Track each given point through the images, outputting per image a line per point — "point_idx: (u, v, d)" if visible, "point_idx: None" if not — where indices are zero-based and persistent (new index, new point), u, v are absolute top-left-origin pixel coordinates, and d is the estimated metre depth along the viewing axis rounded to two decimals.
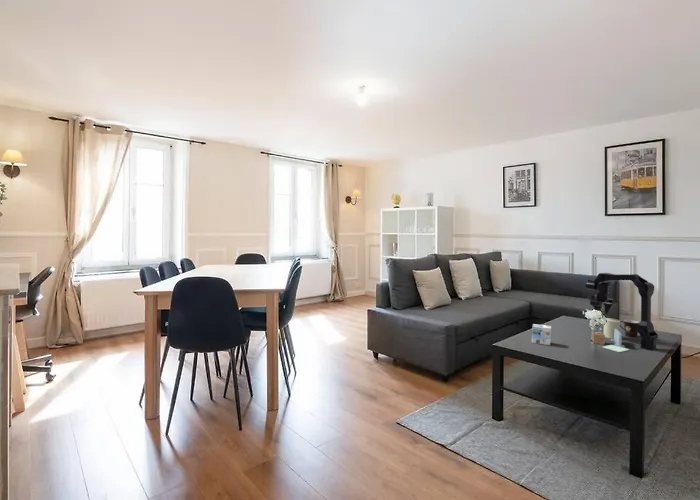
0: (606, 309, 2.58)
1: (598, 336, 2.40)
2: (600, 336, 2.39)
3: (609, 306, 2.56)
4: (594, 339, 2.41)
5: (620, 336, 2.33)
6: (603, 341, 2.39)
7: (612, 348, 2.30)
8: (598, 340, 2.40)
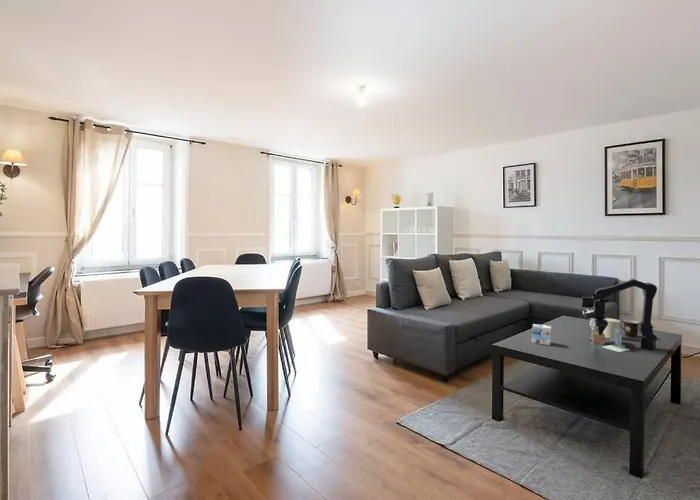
0: None
1: (598, 336, 2.40)
2: (600, 336, 2.39)
3: None
4: (594, 339, 2.41)
5: (620, 336, 2.33)
6: (603, 341, 2.39)
7: (612, 348, 2.30)
8: (598, 340, 2.40)
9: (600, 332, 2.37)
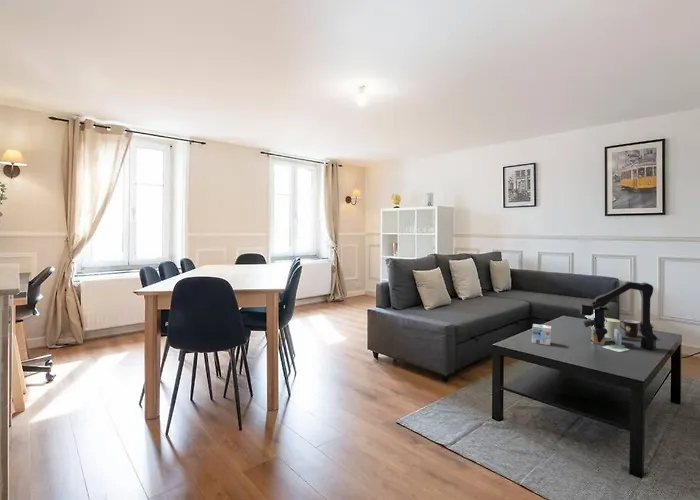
0: None
1: None
2: None
3: None
4: (594, 339, 2.41)
5: (620, 336, 2.33)
6: (603, 341, 2.39)
7: (612, 348, 2.30)
8: None
9: (599, 339, 2.39)
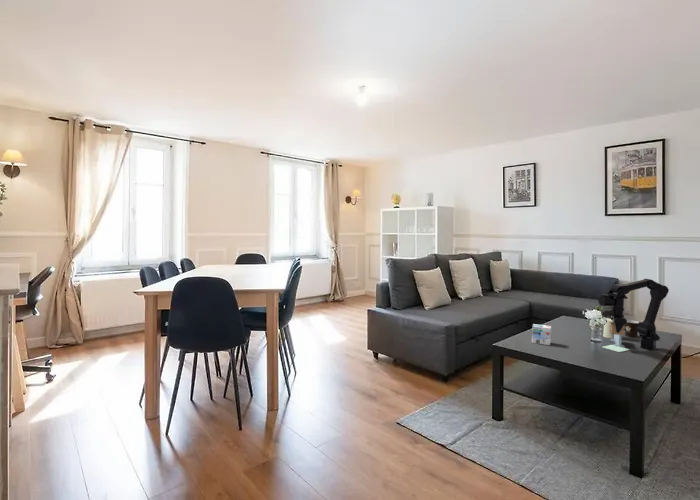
0: None
1: None
2: None
3: None
4: (613, 329, 2.28)
5: (620, 336, 2.33)
6: (622, 331, 2.27)
7: (612, 348, 2.30)
8: None
9: (618, 330, 2.27)
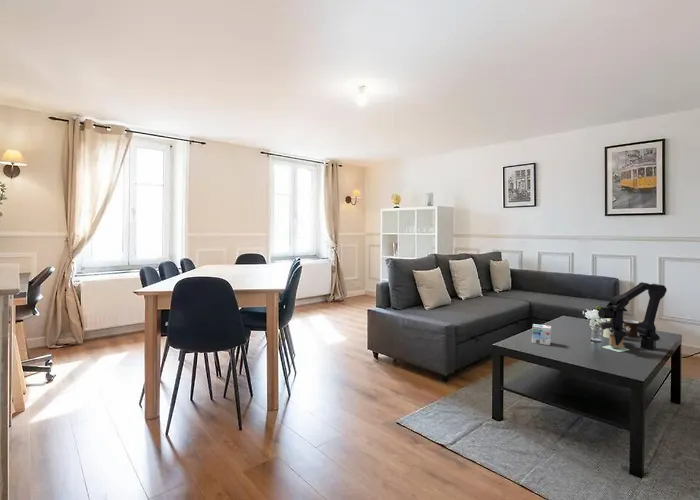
0: None
1: None
2: None
3: None
4: (612, 342, 2.29)
5: None
6: (621, 344, 2.27)
7: (612, 348, 2.30)
8: None
9: (617, 342, 2.27)
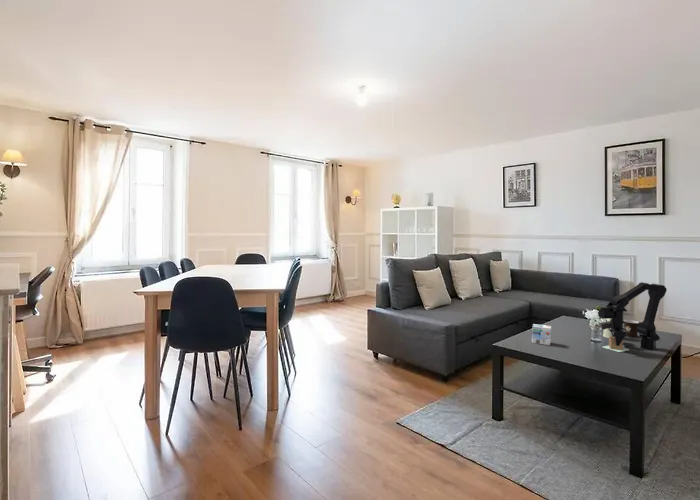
0: None
1: None
2: None
3: None
4: (612, 344, 2.29)
5: None
6: (621, 346, 2.27)
7: None
8: None
9: (617, 343, 2.26)
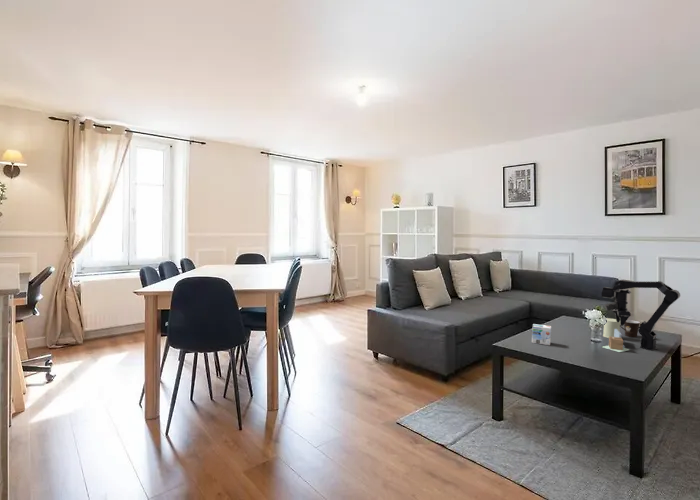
0: (617, 318, 2.47)
1: (616, 341, 2.28)
2: (618, 341, 2.28)
3: None
4: (612, 344, 2.29)
5: (620, 336, 2.33)
6: (621, 346, 2.27)
7: None
8: (616, 345, 2.28)
9: (622, 323, 2.37)
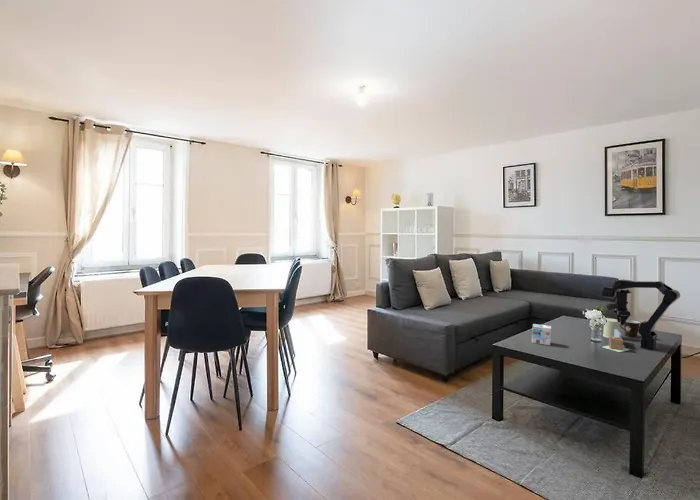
0: (618, 317, 2.47)
1: (616, 341, 2.28)
2: (618, 341, 2.28)
3: None
4: (612, 344, 2.29)
5: (620, 336, 2.33)
6: (621, 346, 2.27)
7: None
8: (616, 345, 2.28)
9: (622, 322, 2.38)
